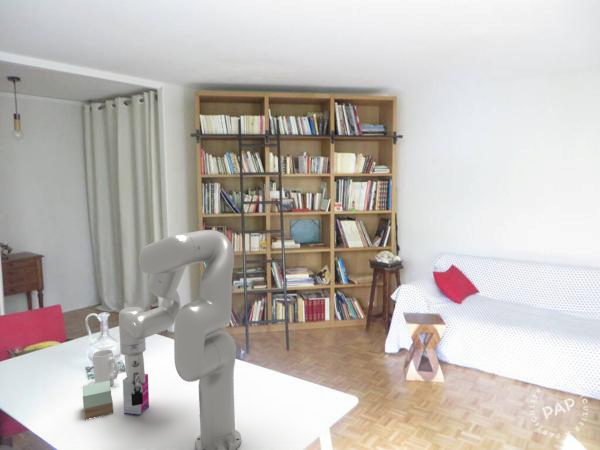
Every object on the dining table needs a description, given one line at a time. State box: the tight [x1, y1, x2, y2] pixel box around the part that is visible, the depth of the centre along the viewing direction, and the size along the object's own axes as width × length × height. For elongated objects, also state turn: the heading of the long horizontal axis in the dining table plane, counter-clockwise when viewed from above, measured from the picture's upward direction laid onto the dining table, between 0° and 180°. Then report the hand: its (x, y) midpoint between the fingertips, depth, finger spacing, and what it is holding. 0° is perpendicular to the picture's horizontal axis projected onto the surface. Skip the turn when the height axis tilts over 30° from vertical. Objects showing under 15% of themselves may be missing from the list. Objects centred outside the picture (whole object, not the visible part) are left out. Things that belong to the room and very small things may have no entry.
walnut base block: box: [84, 395, 114, 420], centre depth 140 cm, size 8×8×4 cm
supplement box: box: [122, 373, 150, 417], centre depth 139 cm, size 6×6×12 cm
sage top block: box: [82, 380, 113, 410], centre depth 140 cm, size 8×8×4 cm
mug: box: [92, 348, 120, 387], centre depth 157 cm, size 10×7×12 cm, turn 70°
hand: (135, 397), depth 140 cm, fingers open, 9 cm apart
